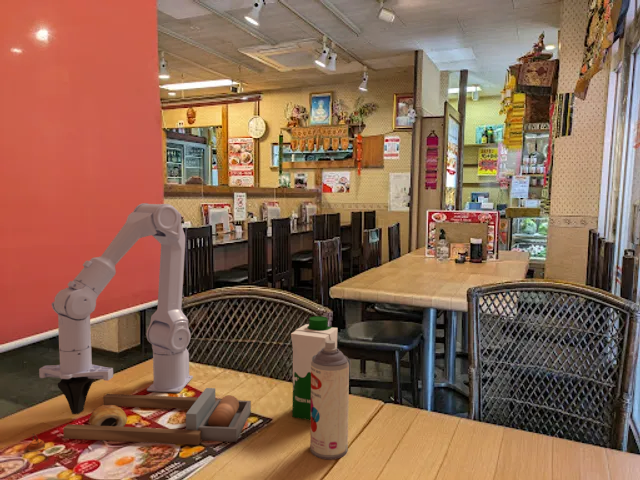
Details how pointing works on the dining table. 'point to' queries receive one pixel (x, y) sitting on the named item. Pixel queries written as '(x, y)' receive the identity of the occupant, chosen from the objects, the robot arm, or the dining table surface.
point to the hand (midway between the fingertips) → (77, 411)
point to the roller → (224, 412)
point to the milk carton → (307, 361)
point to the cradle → (226, 432)
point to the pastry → (108, 416)
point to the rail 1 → (150, 401)
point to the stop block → (200, 409)
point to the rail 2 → (132, 434)
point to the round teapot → (36, 445)
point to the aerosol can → (329, 403)
